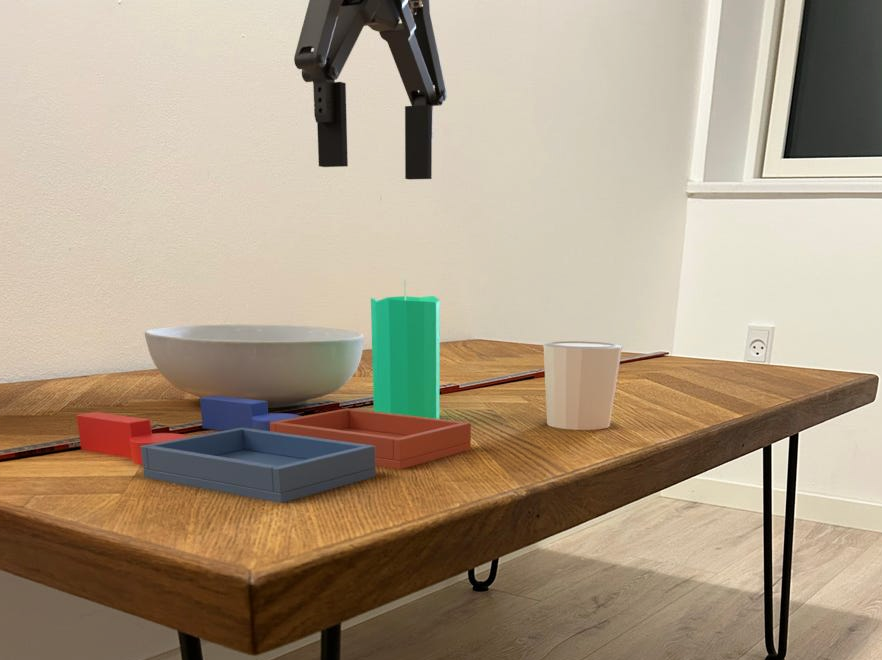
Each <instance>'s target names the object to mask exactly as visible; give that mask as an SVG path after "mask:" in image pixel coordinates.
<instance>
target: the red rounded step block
mask: <svg viewBox="0 0 882 660" xmlns="http://www.w3.org/2000/svg"><path fill="white" fill-rule="evenodd" d="M76 422H77V429H78V435H79V436H78V437H79V443H80V450H82V451H88V452H93V453H99V454H104V455H110V456H117V457H123V458H127V459H131V461H132V464H133V463H134V464H136V465H141V466H143V463H142V454H141V446H144V445H149V444H155V443H160V442H166V441H171V440H177V439H182V438H187V437H189V436H188V435H186V434H182V433H175V432H174V433H173V432H158V433H157V432H156V433H155V432H154V433H152V424H151V423H152V422H151V419H149V418H142V417H135V416H127V415H120V414H113V413H106V412H99V411H94V412H86V413H79V414H76Z"/></svg>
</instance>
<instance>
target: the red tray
mask: <svg viewBox="0 0 882 660" xmlns="http://www.w3.org/2000/svg"><path fill="white" fill-rule="evenodd" d="M270 431H271V432H278V433H286V434H293V435H300V436H307V437H315V438H322V439H329V440H336V441H343V442H351V443H358V444H365V445H372V446H375V467H382V468H387V469H397V470H403V469H407V468H411V467H414V466H417V465H421V464H426V463H428V462H431V461H435V460H436V461H437V460H439V459H443V458H446V457H450V456H454V455H456V454H461V453H464V452H467V451H470V450H471V449H472V447H471V446H472V444H471V442H472V441H471V440H472V437H471V436H472V422H469V421H461V420H460V421H459V420H453V419H452V420H451V419H442V418H439V419H435V418H426V417H418V416H409V415H400V414H392V413H383V412H375V411H374V410H365V409H357V408H349V407H347V408H343V409H342V408H341V409H335V410H332V411H325V412H320V413H314V414H308V415H303V416H302V415H301V417H297V418H291V419H286V420H280V421H275V422H270Z"/></svg>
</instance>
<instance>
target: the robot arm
mask: <svg viewBox="0 0 882 660" xmlns="http://www.w3.org/2000/svg"><path fill="white" fill-rule="evenodd" d="M430 6H431V5H430V0H309V1H308V5H307V8H306V12H305V16H304V20H303V23H302V26H301V30H300V35H299V39H298V42H297V45H296V49H295V53H294V57H293V61H294V62H293V63H294V65H295V67H296V69H298V70H301V78H302V80H303V81H304V82H305V83H312V85H313V87H312V89H313V112H314V120H315V123H316V124H317V125H316V126H317V129H316V130H317V154H318V155H317V156H318V167H321V168H340V167H341V168H344V167H349V166H348V165H349V164H348V163H349V162H348V161H349V160H348V125H347V123H348V122H347V84H346V82H342V81H336V80H338V78H339V77H340V75H341V74H342V71H343V70H344V67H345V65H346V63H347V61H348V59H349V57H350V55H351V53H352V51H353V49H354V47H355V46H356V44H357V41H358V40H359V36H360V35H361V32H362V31H363V29H364V27H367V26H368V28H370V29H371V30H372V31H375V32H378V34H379V36H380V38H381V39H382V40H384V41H385V42H386V43H387V46H388V47H389V50H390V53H391V56H392V58H393V61H394V64H395V66H396V69H397V71H398V73H399V76H400V79H401V81H402V85H403V87H404V89H405V91H406V92H405V93H406V94H407V97H408V100H409V102H410V105H405V106H404V149H405V150H404V167H405V168H404V170H405V171H404V173H405V175H404V178H405V180H432V176H433V174H432V173H433V171H432V169H433V167H432V162H433V160H432V158H433V157H432V155H433V151H432V149H433V148H432V146H433V138H434V137H433V135H434V134H433V132H434V131H433V123H434V118H433V117H434V115H433V114H434V107H437V106H440V107H441V106H443V104H444V102H445V101H446V100H447V97H448V96H447V95H448V94H447V89H446V84H445V78H444V74H443V69H442V65H441V60H440V55H439V50H438V46H437V41H436V36H435V31H434V25H433V21H432V17H431V9H430ZM400 21H401V22H400Z"/></svg>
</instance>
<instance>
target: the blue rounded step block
mask: <svg viewBox="0 0 882 660" xmlns="http://www.w3.org/2000/svg"><path fill="white" fill-rule="evenodd" d="M199 402H200V403H199V404H200V415H201V424H202V429H206V430H212V431H213V430H214V431H218V432H220V431H226V430H231V429H237V428H250V429H257V430H264V431H270V422H275V421H280V420H286V419H291V418H297V417H302V415H300V414H296V413H295V414H294V413H285V412H284V413H279V412H278V413H276V412H273V413H269V408H267V401H260V400H251V399H243V398H234V397H226V396H218V395H214V396H207V397H199Z"/></svg>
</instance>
